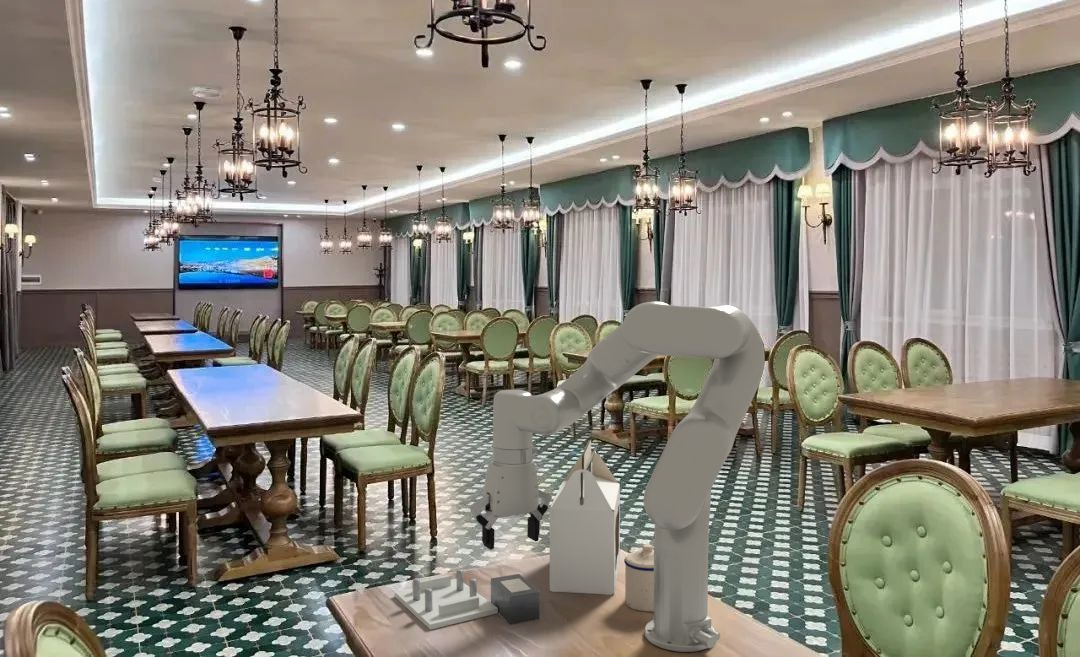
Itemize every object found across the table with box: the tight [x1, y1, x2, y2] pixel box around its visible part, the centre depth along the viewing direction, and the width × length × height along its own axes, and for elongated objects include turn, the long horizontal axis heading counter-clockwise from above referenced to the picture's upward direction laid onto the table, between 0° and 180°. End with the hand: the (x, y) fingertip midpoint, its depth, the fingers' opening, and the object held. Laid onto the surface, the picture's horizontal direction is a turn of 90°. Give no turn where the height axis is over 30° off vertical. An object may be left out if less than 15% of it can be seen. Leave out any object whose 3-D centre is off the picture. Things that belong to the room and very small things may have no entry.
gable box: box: [549, 439, 621, 596], centre depth 173 cm, size 22×13×28 cm, turn 171°
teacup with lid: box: [623, 543, 654, 613], centre depth 159 cm, size 12×9×12 cm
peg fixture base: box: [394, 568, 499, 631], centre depth 157 cm, size 18×14×5 cm
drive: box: [490, 573, 540, 626], centre depth 154 cm, size 10×6×6 cm, turn 24°
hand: (511, 543), depth 153 cm, fingers open, 9 cm apart
